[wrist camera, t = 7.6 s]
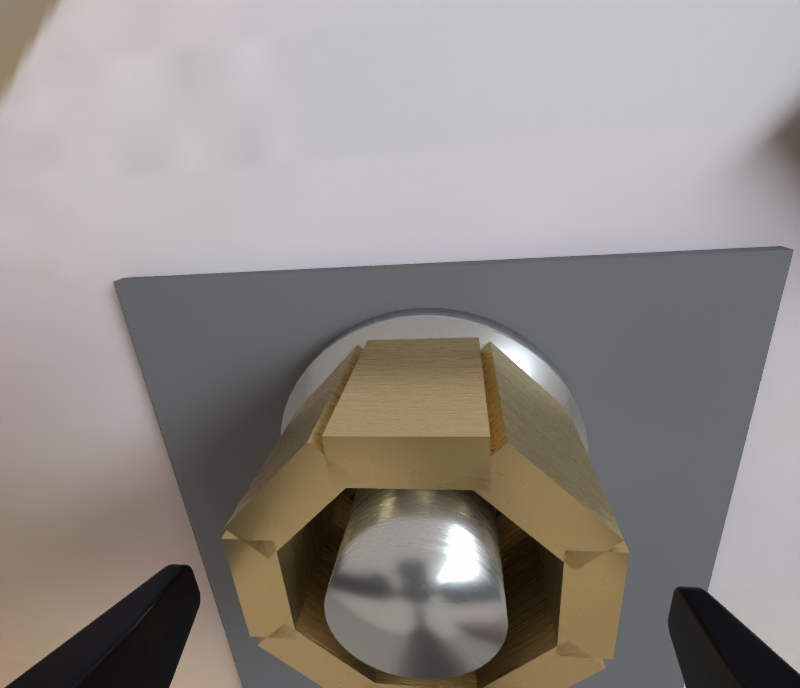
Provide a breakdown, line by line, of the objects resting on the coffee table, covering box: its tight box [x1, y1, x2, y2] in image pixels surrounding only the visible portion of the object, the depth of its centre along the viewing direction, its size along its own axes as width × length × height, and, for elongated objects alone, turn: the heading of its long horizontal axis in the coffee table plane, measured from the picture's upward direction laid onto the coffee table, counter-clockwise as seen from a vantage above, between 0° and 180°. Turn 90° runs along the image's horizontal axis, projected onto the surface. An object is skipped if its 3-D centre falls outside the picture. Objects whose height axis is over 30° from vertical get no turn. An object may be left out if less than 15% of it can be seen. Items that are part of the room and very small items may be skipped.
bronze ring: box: [222, 337, 630, 688], centre depth 10 cm, size 7×7×4 cm
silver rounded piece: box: [281, 308, 588, 680], centre depth 10 cm, size 8×8×5 cm
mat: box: [114, 246, 793, 688], centre depth 15 cm, size 22×16×1 cm
